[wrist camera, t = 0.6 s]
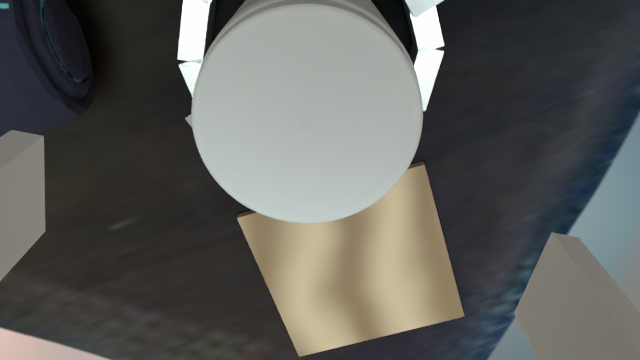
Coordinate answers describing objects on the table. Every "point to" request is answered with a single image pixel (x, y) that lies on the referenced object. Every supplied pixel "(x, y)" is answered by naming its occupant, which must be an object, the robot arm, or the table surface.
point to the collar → (419, 16)
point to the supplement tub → (307, 108)
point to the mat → (358, 269)
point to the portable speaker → (42, 66)
